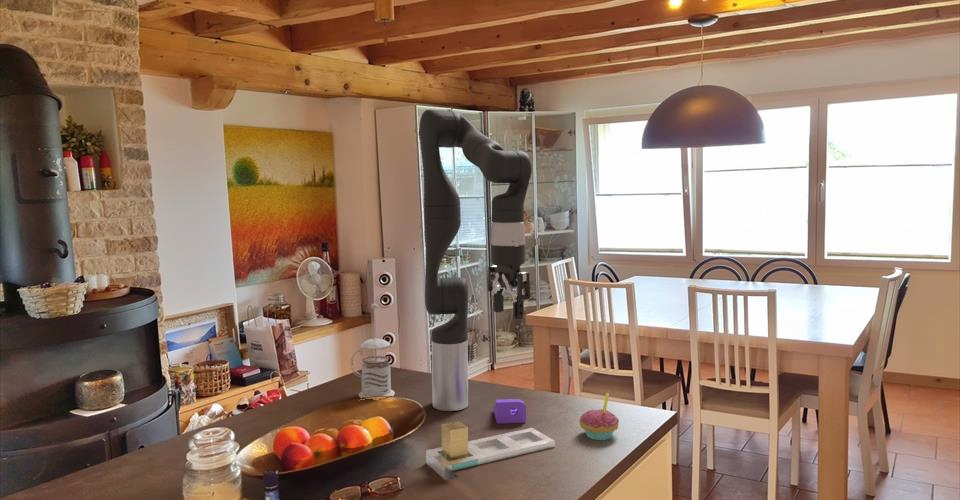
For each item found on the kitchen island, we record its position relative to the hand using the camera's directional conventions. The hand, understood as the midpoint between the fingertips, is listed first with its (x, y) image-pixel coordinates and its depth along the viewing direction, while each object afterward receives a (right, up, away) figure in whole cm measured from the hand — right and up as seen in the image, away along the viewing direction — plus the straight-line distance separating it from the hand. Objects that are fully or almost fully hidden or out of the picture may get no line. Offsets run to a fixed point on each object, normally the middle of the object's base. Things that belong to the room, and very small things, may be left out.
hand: (508, 315), depth 154 cm
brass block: (-11, -28, -12) cm, 33 cm away
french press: (-35, -25, +35) cm, 56 cm away
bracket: (+1, -27, +14) cm, 31 cm away
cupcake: (+20, -28, 0) cm, 35 cm away
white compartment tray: (-4, -29, -8) cm, 31 cm away
